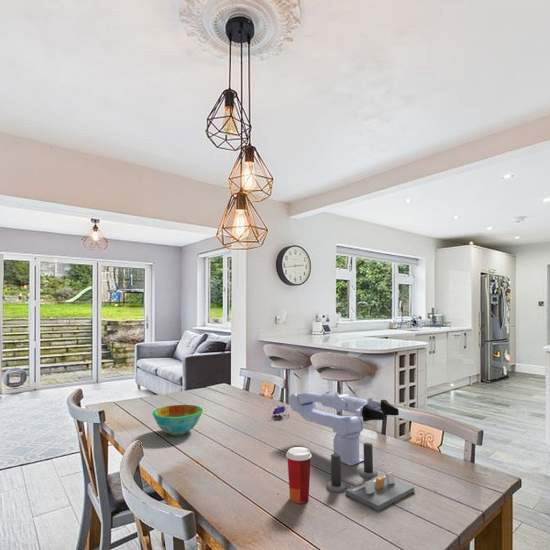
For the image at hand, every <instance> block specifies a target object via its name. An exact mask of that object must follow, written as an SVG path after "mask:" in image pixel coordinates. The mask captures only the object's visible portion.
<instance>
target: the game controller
mask: <svg viewBox="0 0 550 550" xmlns="http://www.w3.org/2000/svg"><path fill="white" fill-rule="evenodd" d="M274 406H277V407H276V408H273V407H274ZM272 408H273V409H274V410H273V412H272V415H275V416H276V415H284V414H285V413H284V412H285V411H286V406H284V405H281V406H280V405H277V404H276V405H275V404H274V405H273V406H271V407H270V409H272ZM270 409H269V411H268V412H270ZM268 414H269V416H271V414H270V413H268ZM284 417H285V419H287V418H289V417H290V413H287V417H286V416H285V415H284Z"/></svg>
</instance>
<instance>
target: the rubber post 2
mask: <svg viewBox="0 0 550 550" xmlns="http://www.w3.org/2000/svg"><path fill="white" fill-rule="evenodd" d="M373 448H374V447H373V443H372V442H365V443H363V459H364V461H363V467H362V468H360V469H359V476H361V475H362V476H361V477H363V478H365V477H367V478H366V479H372V478H374V477H376V476H377V475H378V476H379V473H378V470H377V469H375V468H374V461H373V460H374V459H373V456H374V455H373V453H374V452H373Z"/></svg>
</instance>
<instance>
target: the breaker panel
mask: <svg viewBox="0 0 550 550" xmlns="http://www.w3.org/2000/svg"><path fill="white" fill-rule="evenodd" d="M380 476H383V477H385V481H384V487H382V488H380V489H377V488H376V487H375V486H376V478H377V477H380ZM369 480H372V481H373V482H374V489H375V492H373V493H371V494H367V493H366V488H365V482H367V481H369ZM394 480H395V482H394V483H392V484H387V482H386V476H385V473H381V474H378V476H376V477H374V478H368V480H364V481H363V482H361V483H360V482H359V483H358V484H356V485H353V486H351V487H349V488H346V490H345V496H347V495H348V496H347V497H349V496H350V497H349V498H351V497H352V499H353V498H354V500H355V501H357V502H359V503H361V504H363V505H365V506H367V507H370V508H371V507H372V508H371V509H374V510H375V511H377V512H380V511H381V510H382V509H385V508H387V507H389V506H390V504H391V505H393V504H394V503H393V502H395V503H396V502H398V501H400V500H402V499H404V498H406V497H407V495H408V494H410V493H412V492H414V493H415V486H413V485H410V484H408V483H405V482H402V481H401V480H398V479H396V478H394ZM412 494H413V493H412ZM410 495H411V494H410ZM405 496H406V497H405ZM408 496H409V495H408ZM403 497H404V498H403ZM401 498H402V499H401ZM399 499H400V500H399ZM392 503H393V504H392ZM388 505H389V506H388Z"/></svg>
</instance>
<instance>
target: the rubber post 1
mask: <svg viewBox="0 0 550 550" xmlns="http://www.w3.org/2000/svg"><path fill="white" fill-rule="evenodd" d="M341 463H342V462H341V456H340V455H339V454H334V453H331V454H330V464H331V465H330V468H331V469H330V470H331V471H330V472H331V475H330V476H331V477H330V479H331V480H329V481H327V482H326V489H327V491H329V492H332V493H342V491H343V492H345V491H346V490H345V489H347V486H346V483H345V482H344V481H342V472H341V471H342V469H341V468H342V465H341ZM344 490H345V491H344Z"/></svg>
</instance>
